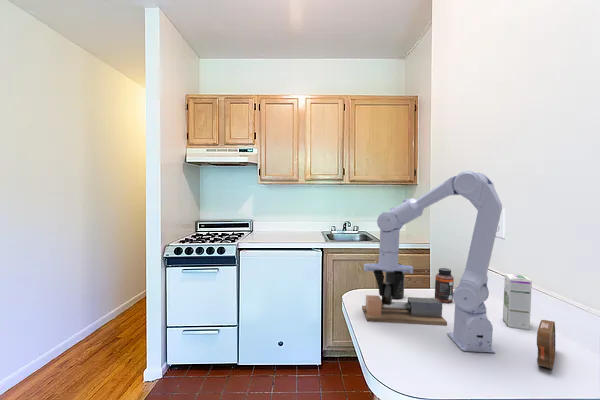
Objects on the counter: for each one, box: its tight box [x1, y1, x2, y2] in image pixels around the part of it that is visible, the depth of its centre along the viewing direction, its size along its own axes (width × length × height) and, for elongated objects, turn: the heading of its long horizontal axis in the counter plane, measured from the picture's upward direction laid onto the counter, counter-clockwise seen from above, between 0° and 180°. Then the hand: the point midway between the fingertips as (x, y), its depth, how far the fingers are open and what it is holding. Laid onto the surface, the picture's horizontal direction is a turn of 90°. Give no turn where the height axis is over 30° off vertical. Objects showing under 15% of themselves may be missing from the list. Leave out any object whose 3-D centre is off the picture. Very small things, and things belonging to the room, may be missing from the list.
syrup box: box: [502, 273, 533, 331], centre depth 97 cm, size 6×6×14 cm
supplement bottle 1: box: [384, 262, 406, 300], centre depth 119 cm, size 7×7×12 cm
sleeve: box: [407, 296, 443, 318], centre depth 100 cm, size 4×9×4 cm, turn 87°
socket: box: [364, 294, 382, 315], centre depth 100 cm, size 4×4×4 cm
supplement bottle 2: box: [434, 267, 455, 304], centre depth 116 cm, size 6×6×11 cm
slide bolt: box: [381, 281, 411, 311], centre depth 100 cm, size 3×13×8 cm, turn 87°
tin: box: [536, 319, 556, 370], centre depth 77 cm, size 15×3×8 cm, turn 139°
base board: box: [362, 305, 448, 326], centre depth 100 cm, size 10×23×1 cm, turn 87°
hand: (386, 295), depth 100 cm, fingers closed on slide bolt, 3 cm apart
